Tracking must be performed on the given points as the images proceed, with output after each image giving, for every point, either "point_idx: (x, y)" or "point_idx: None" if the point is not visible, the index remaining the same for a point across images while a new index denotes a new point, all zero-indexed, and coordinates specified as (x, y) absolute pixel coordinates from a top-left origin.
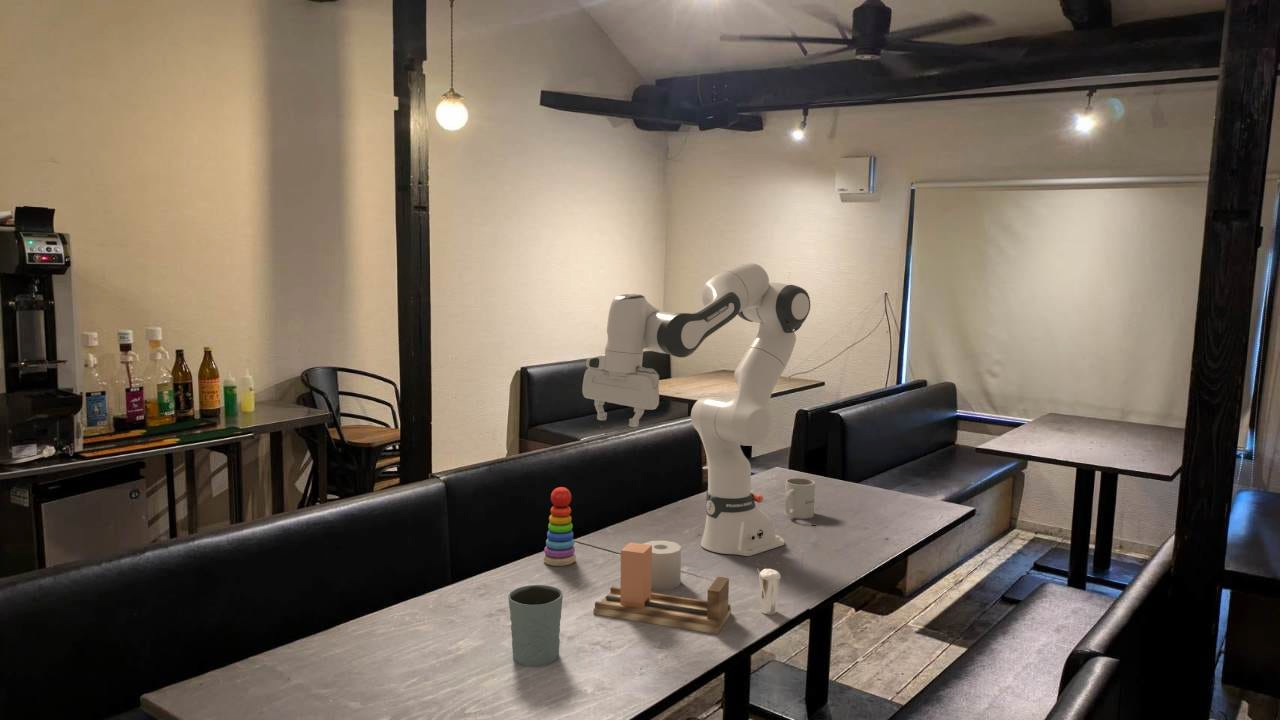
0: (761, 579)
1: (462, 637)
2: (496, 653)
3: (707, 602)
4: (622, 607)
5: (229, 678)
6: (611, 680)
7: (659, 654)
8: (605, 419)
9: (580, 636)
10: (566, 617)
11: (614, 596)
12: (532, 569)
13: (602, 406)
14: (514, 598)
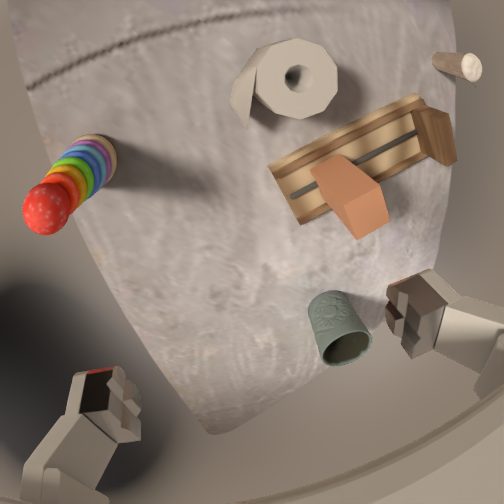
0: (466, 79)
1: (250, 337)
2: (298, 326)
3: (436, 160)
4: None
5: (212, 421)
6: (398, 277)
7: (408, 224)
8: (121, 372)
9: (329, 261)
10: (282, 250)
11: (302, 192)
12: (103, 210)
13: (56, 455)
14: (323, 355)
